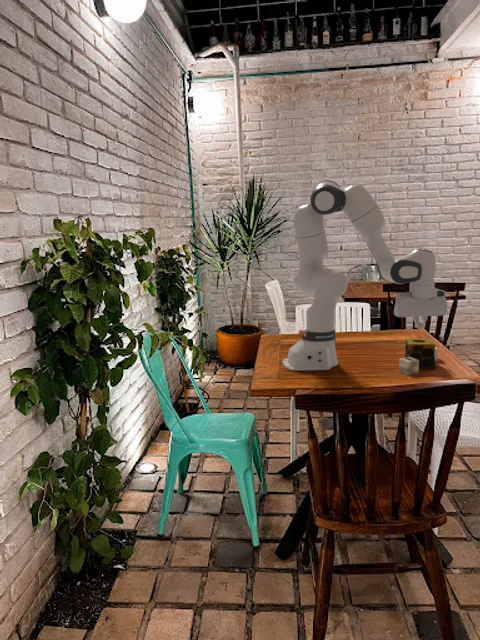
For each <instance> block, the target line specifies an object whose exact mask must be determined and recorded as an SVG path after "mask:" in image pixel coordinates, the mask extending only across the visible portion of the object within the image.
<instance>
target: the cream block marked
mask: <svg viewBox="0 0 480 640" xmlns="http://www.w3.org/2000/svg"><path fill="white" fill-rule="evenodd" d="M438 353H439V351H438V348H437V347H436V346H435V354H434V356H435V362H437V361H438Z"/></svg>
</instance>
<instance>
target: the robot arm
mask: <svg viewBox="0 0 480 640" xmlns="http://www.w3.org/2000/svg"><path fill="white" fill-rule="evenodd" d="M338 212H344V214H345V215H346V216H347V218H348V220H349V221H350V223H351V224H352V226H353V227H354V229H355V230H356V232H358V234H359V235H360V237H362V239H363V240H364V241H365V244H366V246H367V247H368V249H369V250H370V252H371V254H372V256H373V258H374V261H375V263H376V266H377V267H376V268H377V272H378V276H379V277H380V278H381V279H382V280H383V281H385V282H387V283H393V284H397V285H405V284H409V290H408V291H407V292H400V293H398V294H397V295H395V300H394V301H395V303H394V308H393V314H394V316H395V317H397V318H410V317H411V318H412V320H413V322H414V328H416V329H421V328H425V324H426V322H427V320H428V317H438V316H446V314H447V313H448V299H447V298H446V297H447V293H448V292H447V291H445V290H443V289H440V288H436V287H435V285H436V284H435V275H436V271H437V270H436V268H437V266H436V265H437V262H436V261H437V260H436V254H435V252H433V251H432V250H428V249H423V248H414V249H413V250H412V251H411V252H409V253H408V254H406V255H402V256H401V257H398V256H395V255H394V254H393V253H392V252H391V250H390V248H389V247H388V245H387V243H386V241H385V239H384V238H383V235H382V230H383V228H384V226H385V223H386V222H385V220H386V219H385V217H384V214H383V212H382V210H381V208H380V207H379V204H378V203H377V201H376V200H375V199H374V197H373V196H372V195H371V194H370V192H369V191H368V190H367V189H366V188H365V187H364V186H363V184H360V183H355V184H352V185H349V186H347V187H346V188H341V187H340V186H339V184H338V183H337V182H336V181H334V180H331V179H329V180H328V179H327V180H322V181H320V182H319V183H318V184H317V185H315V186H314V187H313V189H312V191H311V195H310V200H309V202H308V203H307V204H303V205H301V206H299V207H298V208H296V210H294V217H293V218H294V231H295V238H296V242H297V249H298V252H299V253H298V254H299V264H298V265H299V267H298V270H297V271H296V272H295V274H294V277H293V282H294V286H295V288H296V289H297V290H299V291H300V292H303V293H304V294H307V295H313V302H312V304H311V306H309V307H308V308H307V310H306V311H305V312H306V316H305V318H306V319H305V321H306V322H305V324H306V329H305V330H303V329H298V334H299V336H301V339H300V340H299V341H297V342H296V343H295V344H294V345H292V346H291V347H290V348H289V349H288V354H287V358H284V359H283V360H282V366H283V367H284V368H285V369H286V370H290V371H328V370H331V369H332V368H334V367H336V366H338V364H339V361H338V360H339V359H338V357H337V352H336V344H335V343H336V340H337V339H336V337H337V335H336V329H335V313H336V312H335V311H336V306H337V304H338V301H339V300H340V298H341V297H342V296H343V295H344V294H345V293H346V291H347V289H348V286H349V283H348V282H349V281H348V277H347V275H346V274H345V273H344V272H341V271H339V270H336V269H335V268H334V269H333V268H325V267H324V258H325V256H327V254H328V252H329V246H328V242H327V241H328V239H327V235H326V230H325V225H324V217H325V216H327V215H331V214H334V213H338ZM419 317H421V320H420V322H419V321H418V320H419V319H420V318H419Z"/></svg>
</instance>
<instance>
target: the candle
mask: <svg viewBox="0 0 480 640" xmlns="http://www.w3.org/2000/svg"><path fill="white" fill-rule="evenodd" d="M404 340H405V341H404V342H405V344H404V346H405V347H404V348H405V350H404V351H405V353H404V358H406V357H412V358H415V359H417V360H419V370H435V369H436V361H435V356H434V354H435V347H436V343H435V342H434V341H433V339H432V338H429V337H428V338H426V337H406V338H404Z"/></svg>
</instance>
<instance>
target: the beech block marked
mask: <svg viewBox="0 0 480 640" xmlns="http://www.w3.org/2000/svg"><path fill="white" fill-rule="evenodd" d="M419 370H420V369H419V360H417V359H415V358H412V357H406V358H405V357H400V358H399V359H398V372H400V373H402V374H405V375H407V376H409V375H412V374H419V372H420V371H419Z"/></svg>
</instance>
